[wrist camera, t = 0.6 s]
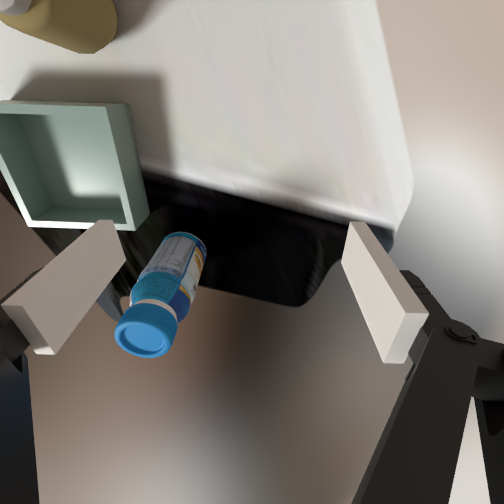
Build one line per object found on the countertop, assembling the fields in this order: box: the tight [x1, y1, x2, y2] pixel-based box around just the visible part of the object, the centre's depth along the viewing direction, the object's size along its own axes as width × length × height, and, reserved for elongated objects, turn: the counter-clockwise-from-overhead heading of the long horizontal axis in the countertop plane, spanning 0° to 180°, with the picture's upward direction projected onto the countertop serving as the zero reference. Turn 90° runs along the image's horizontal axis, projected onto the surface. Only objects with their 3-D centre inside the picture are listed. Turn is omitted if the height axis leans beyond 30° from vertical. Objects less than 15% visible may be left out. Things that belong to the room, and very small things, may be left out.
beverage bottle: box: [115, 232, 207, 358], centre depth 39 cm, size 8×8×20 cm
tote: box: [0, 100, 150, 230], centre depth 37 cm, size 16×16×6 cm
